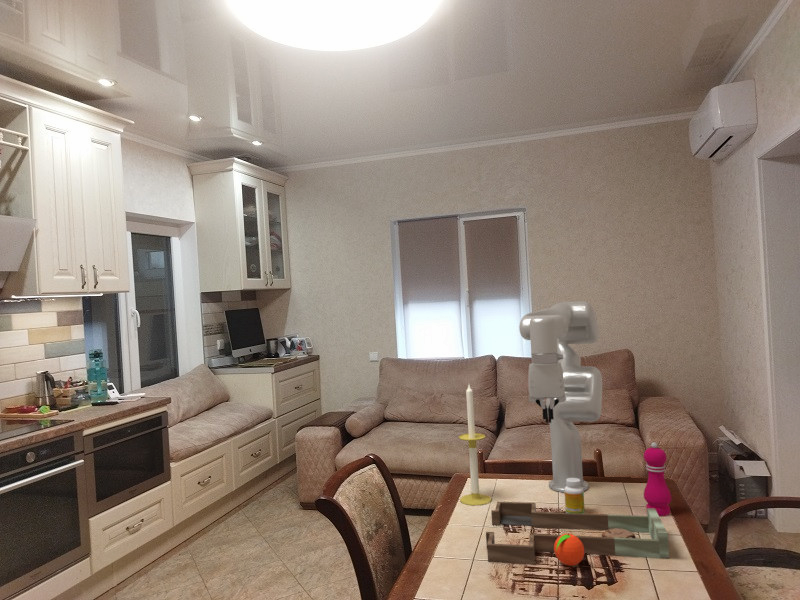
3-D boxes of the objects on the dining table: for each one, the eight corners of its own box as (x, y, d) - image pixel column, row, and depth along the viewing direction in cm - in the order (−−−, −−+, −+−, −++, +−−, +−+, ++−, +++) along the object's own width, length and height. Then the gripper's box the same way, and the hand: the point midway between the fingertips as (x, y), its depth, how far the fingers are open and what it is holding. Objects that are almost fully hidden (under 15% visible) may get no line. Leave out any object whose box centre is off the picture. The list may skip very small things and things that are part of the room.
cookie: (625, 533, 149) (624, 522, 149) (651, 550, 138) (650, 538, 138) (591, 539, 147) (590, 527, 147) (615, 556, 136) (614, 544, 136)
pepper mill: (639, 510, 163) (634, 441, 163) (657, 505, 166) (653, 438, 166) (659, 518, 156) (655, 446, 157) (678, 513, 159) (673, 443, 159)
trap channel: (494, 515, 166) (493, 494, 166) (651, 521, 155) (650, 499, 155) (483, 561, 137) (482, 536, 137) (675, 572, 126) (674, 545, 126)
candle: (470, 508, 173) (463, 386, 173) (454, 498, 182) (447, 383, 182) (497, 501, 177) (490, 382, 177) (480, 492, 186) (473, 379, 186)
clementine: (570, 575, 127) (568, 544, 128) (545, 565, 133) (544, 535, 133) (591, 564, 132) (589, 534, 132) (567, 554, 138) (565, 525, 138)
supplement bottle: (585, 516, 161) (583, 482, 161) (566, 516, 162) (564, 482, 162) (583, 509, 166) (581, 476, 166) (564, 509, 167) (562, 476, 167)
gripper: (570, 356, 166) (574, 419, 166) (519, 358, 170) (522, 419, 169) (572, 359, 159) (575, 424, 158) (518, 361, 162) (521, 424, 162)
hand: (548, 421), depth 164 cm, fingers closed
